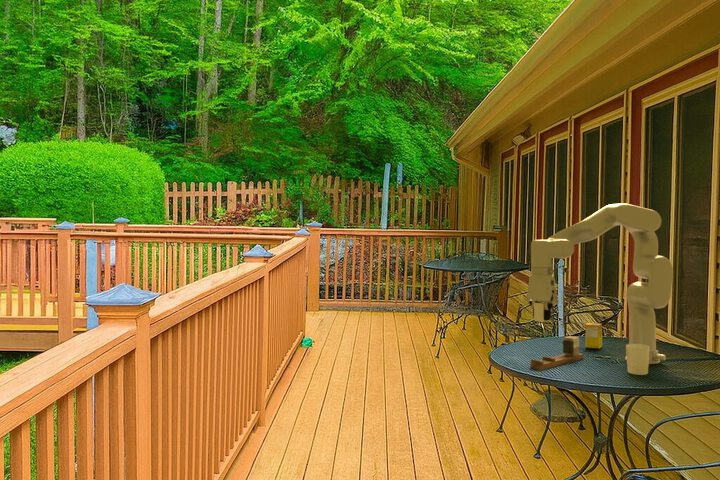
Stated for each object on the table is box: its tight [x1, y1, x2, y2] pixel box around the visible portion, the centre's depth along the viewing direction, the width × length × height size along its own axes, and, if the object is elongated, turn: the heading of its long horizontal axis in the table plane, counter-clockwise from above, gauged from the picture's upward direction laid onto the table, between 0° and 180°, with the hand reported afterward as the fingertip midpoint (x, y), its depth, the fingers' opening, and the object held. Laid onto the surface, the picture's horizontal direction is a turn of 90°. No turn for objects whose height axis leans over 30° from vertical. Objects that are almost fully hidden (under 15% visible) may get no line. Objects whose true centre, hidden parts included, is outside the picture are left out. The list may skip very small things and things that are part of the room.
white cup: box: [625, 343, 650, 376], centre depth 217 cm, size 8×8×10 cm
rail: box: [530, 335, 585, 371], centre depth 234 cm, size 5×29×9 cm, turn 128°
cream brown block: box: [533, 301, 552, 323], centre depth 227 cm, size 4×5×7 cm
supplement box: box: [584, 322, 603, 351], centre depth 261 cm, size 6×6×11 cm
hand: (541, 318), depth 227 cm, fingers closed on cream brown block, 4 cm apart
